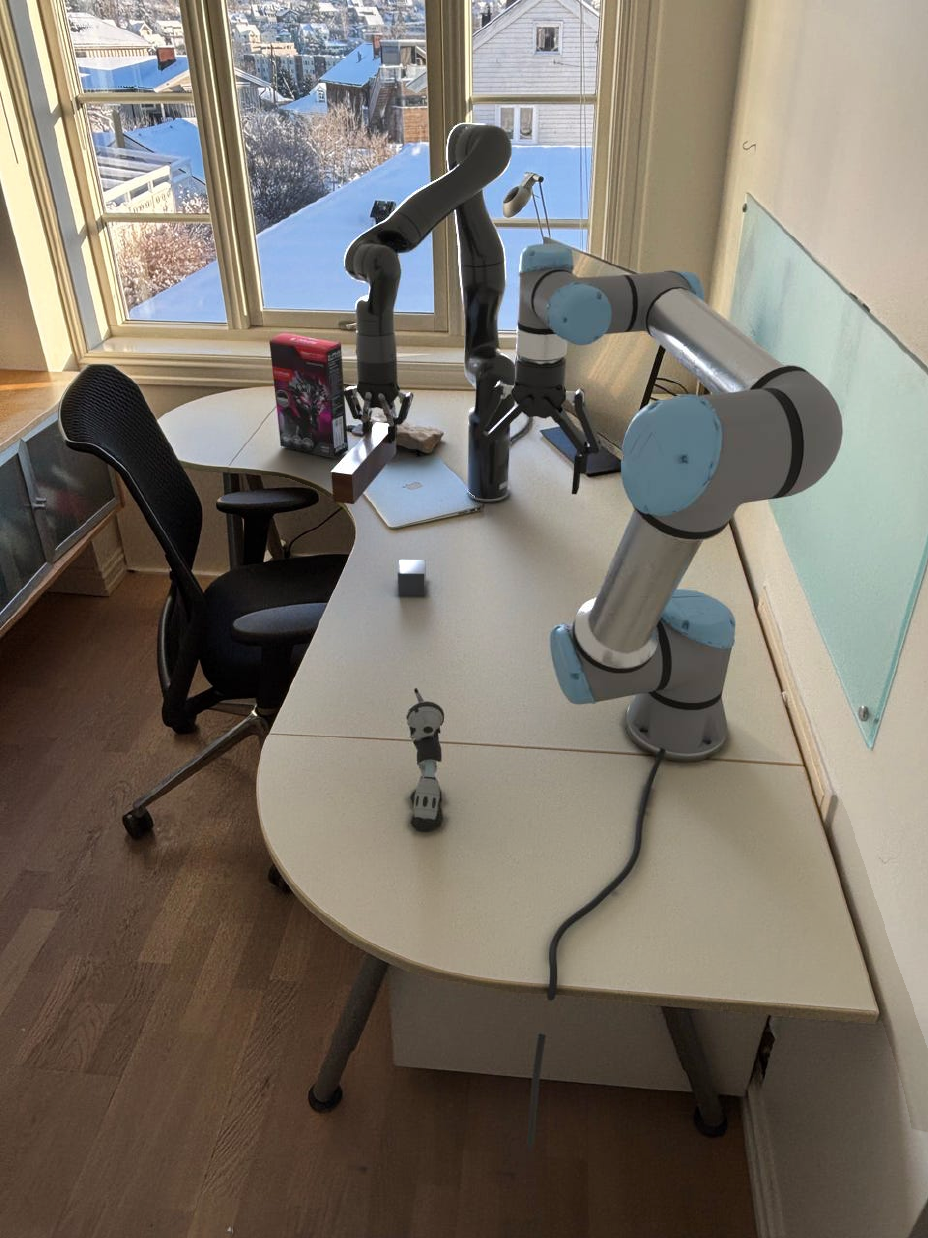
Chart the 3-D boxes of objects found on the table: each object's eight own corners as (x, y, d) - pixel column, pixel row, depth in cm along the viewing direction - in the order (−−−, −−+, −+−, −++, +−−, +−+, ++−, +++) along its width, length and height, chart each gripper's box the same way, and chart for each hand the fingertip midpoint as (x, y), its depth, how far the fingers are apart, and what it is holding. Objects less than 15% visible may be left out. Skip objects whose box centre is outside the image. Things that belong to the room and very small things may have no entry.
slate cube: (424, 596, 175) (424, 573, 172) (398, 595, 175) (397, 573, 172) (425, 582, 179) (425, 560, 176) (400, 582, 179) (399, 559, 176)
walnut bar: (353, 504, 167) (351, 474, 164) (333, 501, 168) (330, 471, 165) (396, 452, 186) (395, 424, 183) (377, 450, 187) (376, 422, 184)
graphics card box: (278, 447, 232) (266, 338, 217) (294, 437, 237) (284, 331, 222) (334, 460, 225) (326, 350, 210) (350, 450, 230) (343, 341, 215)
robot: (446, 864, 120) (446, 749, 109) (409, 865, 120) (405, 750, 109) (442, 761, 137) (441, 652, 126) (409, 762, 136) (405, 652, 125)
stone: (345, 437, 230) (349, 413, 227) (367, 428, 243) (371, 405, 241) (423, 461, 226) (429, 437, 224) (441, 451, 239) (446, 428, 237)
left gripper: (419, 352, 174) (420, 437, 184) (348, 345, 177) (353, 429, 187) (406, 364, 168) (408, 452, 178) (333, 357, 171) (339, 444, 181)
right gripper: (627, 355, 138) (613, 485, 150) (467, 341, 143) (465, 467, 155) (621, 371, 132) (607, 505, 144) (453, 355, 137) (453, 485, 149)
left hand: (380, 440), depth 182 cm, fingers closed on walnut bar, 4 cm apart
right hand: (533, 485), depth 149 cm, fingers open, 13 cm apart
